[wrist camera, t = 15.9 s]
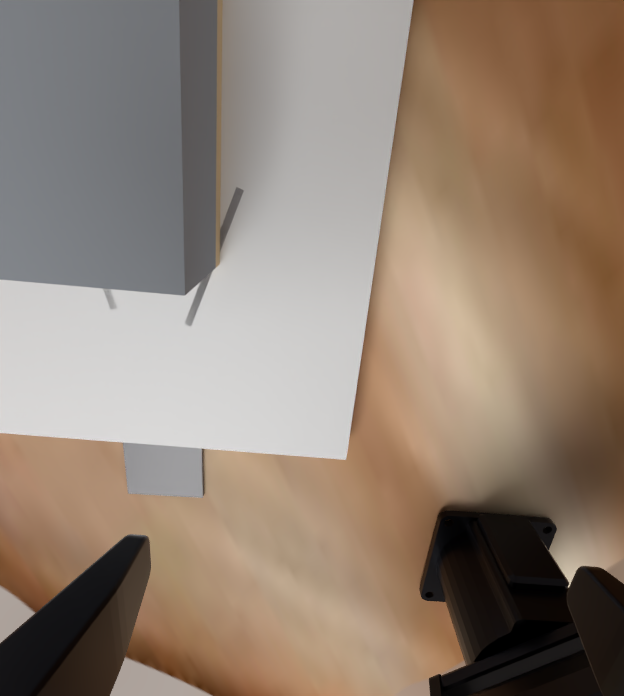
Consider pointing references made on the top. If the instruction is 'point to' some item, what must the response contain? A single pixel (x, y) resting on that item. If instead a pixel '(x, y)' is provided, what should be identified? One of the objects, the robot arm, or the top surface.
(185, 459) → the graphite chip
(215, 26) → the block
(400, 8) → the board
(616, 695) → the robot arm
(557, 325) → the top surface
